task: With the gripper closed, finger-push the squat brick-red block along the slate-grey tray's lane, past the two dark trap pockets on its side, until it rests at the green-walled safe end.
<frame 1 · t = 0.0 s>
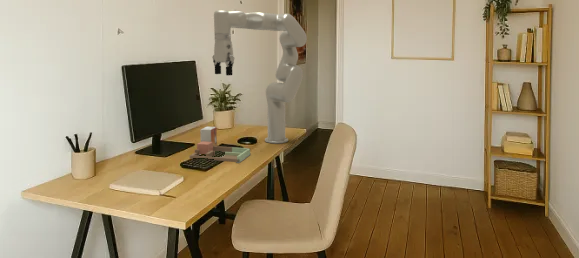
hand: (223, 74, 203), 37 cm above the table, fingers open, 9 cm apart
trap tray: (220, 156, 199), on the table
small box: (209, 148, 215), on the table
block: (205, 153, 204), resting on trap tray
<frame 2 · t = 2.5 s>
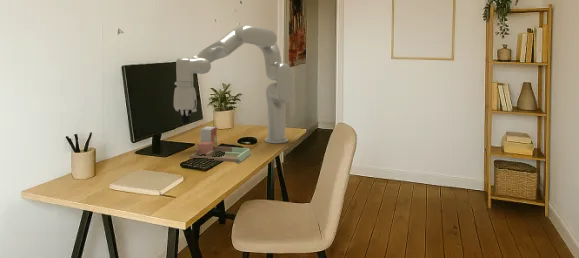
hand: (186, 123, 203), 14 cm above the table, fingers closed
nothing on the table moved.
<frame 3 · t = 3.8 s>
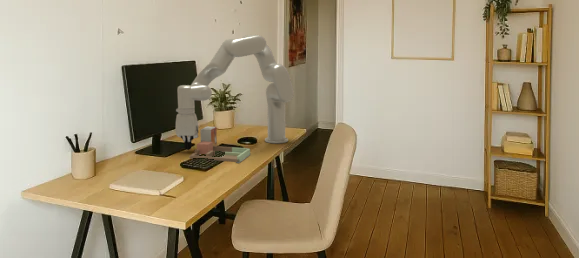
hand: (188, 149, 206), 2 cm above the table, fingers closed
nothing on the table moved.
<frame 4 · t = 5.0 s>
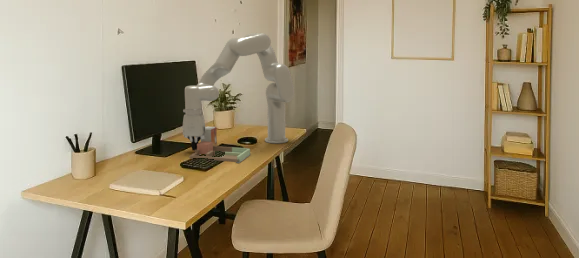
hand: (195, 149, 205), 2 cm above the table, fingers closed
block: (205, 153, 204), point 1 cm above the table, touching gripper
everything else where it was.
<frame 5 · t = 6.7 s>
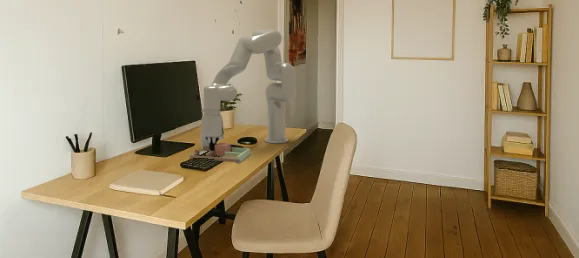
hand: (213, 150, 202), 2 cm above the table, fingers closed
block: (222, 154, 201), point 1 cm above the table, touching gripper, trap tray
everything else where it was.
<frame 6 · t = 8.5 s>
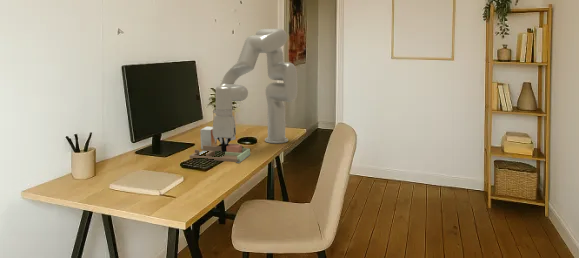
hand: (224, 151, 201), 2 cm above the table, fingers closed
block: (234, 156, 199), resting on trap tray, touching gripper
everything else where it was.
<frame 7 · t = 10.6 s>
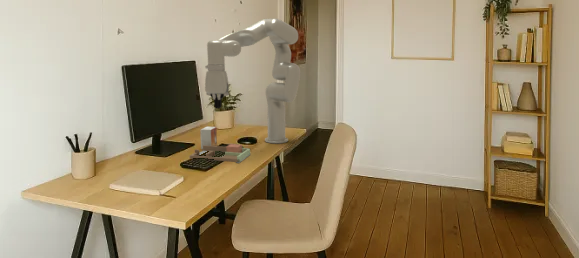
hand: (218, 107, 199), 22 cm above the table, fingers closed
block: (234, 156, 199), resting on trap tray
everything else where it was.
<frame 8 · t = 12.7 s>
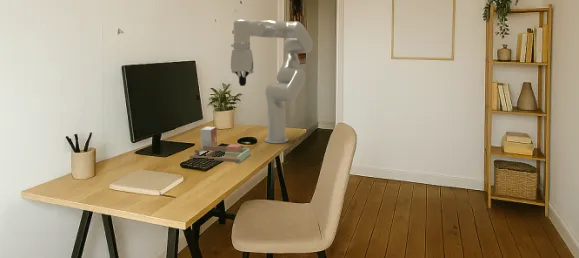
hand: (242, 85, 205), 32 cm above the table, fingers closed
nothing on the table moved.
at the end: block inside the target area (1.0 cm from its centre), point 0.5 cm above the table; block tilted 0° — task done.
